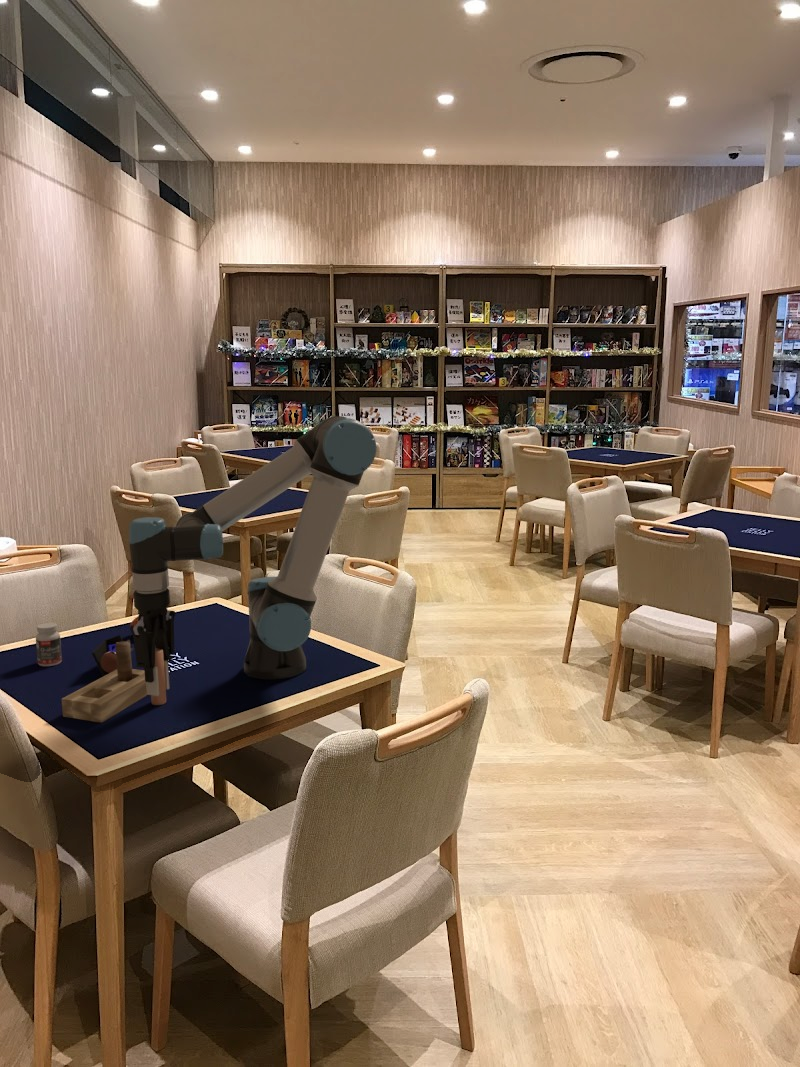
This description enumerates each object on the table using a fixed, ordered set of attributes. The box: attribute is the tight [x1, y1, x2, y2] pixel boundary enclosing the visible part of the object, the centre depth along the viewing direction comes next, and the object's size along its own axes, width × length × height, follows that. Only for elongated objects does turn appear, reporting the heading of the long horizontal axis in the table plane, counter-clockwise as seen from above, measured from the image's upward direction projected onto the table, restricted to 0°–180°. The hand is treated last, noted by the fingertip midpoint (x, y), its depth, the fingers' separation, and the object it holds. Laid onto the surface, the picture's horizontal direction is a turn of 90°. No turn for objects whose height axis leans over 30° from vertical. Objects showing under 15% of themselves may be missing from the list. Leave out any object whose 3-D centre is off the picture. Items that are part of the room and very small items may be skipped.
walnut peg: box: [115, 640, 133, 682], centre depth 194 cm, size 3×3×12 cm
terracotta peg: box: [150, 647, 167, 706], centre depth 189 cm, size 3×3×12 cm
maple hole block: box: [61, 668, 148, 723], centre depth 190 cm, size 10×20×4 cm, turn 161°
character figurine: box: [91, 634, 135, 677], centre depth 210 cm, size 8×7×15 cm
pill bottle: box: [35, 622, 63, 667], centre depth 215 cm, size 6×6×10 cm
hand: (158, 691), depth 190 cm, fingers closed on terracotta peg, 3 cm apart
